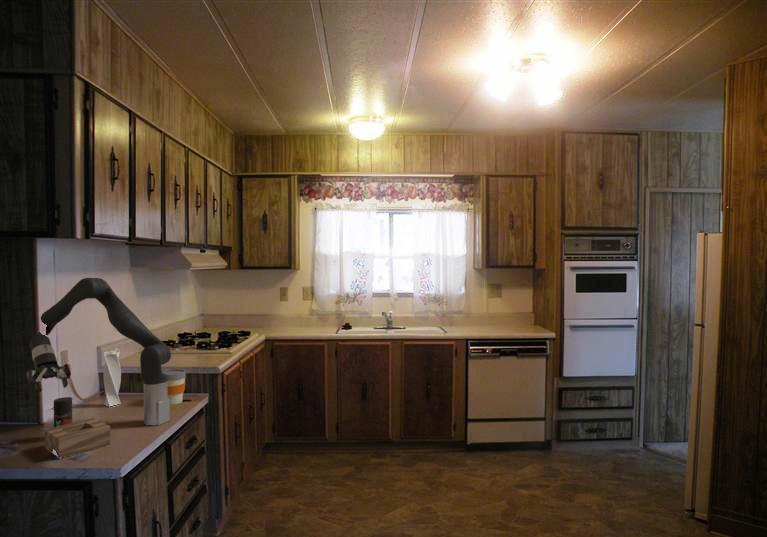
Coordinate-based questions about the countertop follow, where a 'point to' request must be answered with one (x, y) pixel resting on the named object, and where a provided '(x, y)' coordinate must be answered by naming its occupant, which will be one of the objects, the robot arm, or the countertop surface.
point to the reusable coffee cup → (175, 385)
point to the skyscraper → (112, 377)
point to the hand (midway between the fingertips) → (53, 388)
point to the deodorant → (62, 411)
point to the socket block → (77, 437)
